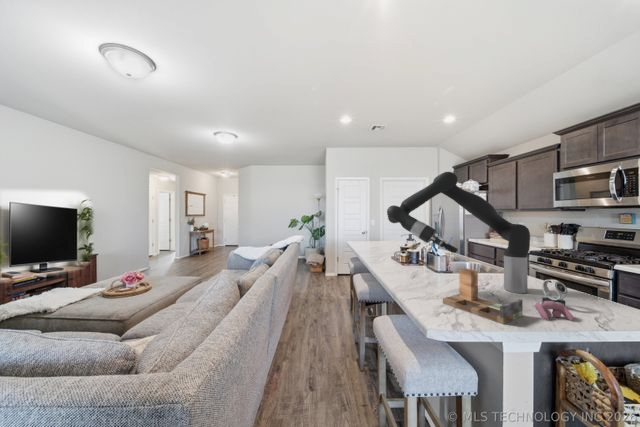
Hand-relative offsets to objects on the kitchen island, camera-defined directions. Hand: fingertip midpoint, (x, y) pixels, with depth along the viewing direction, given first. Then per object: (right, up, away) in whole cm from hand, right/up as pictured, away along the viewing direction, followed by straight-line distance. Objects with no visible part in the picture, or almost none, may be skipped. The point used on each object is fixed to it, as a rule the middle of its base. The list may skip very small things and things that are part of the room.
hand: (455, 251), depth 108 cm
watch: (+36, -22, -8) cm, 43 cm away
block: (+4, -20, -2) cm, 21 cm away
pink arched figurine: (+26, -22, -18) cm, 39 cm away
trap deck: (+4, -22, -10) cm, 24 cm away
